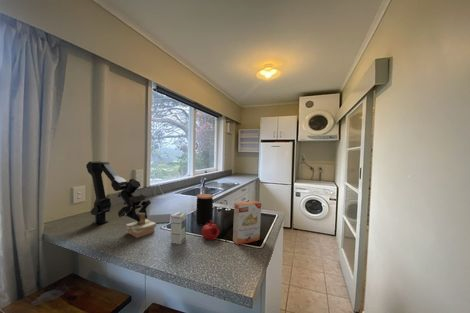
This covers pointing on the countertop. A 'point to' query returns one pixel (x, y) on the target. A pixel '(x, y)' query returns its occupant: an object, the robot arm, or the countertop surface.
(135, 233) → the storage box
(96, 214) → the robot arm
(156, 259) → the countertop surface
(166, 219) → the mat
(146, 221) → the lid
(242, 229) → the cracker box
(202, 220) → the coffee jar
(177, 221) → the syrup box
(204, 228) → the pomegranate
